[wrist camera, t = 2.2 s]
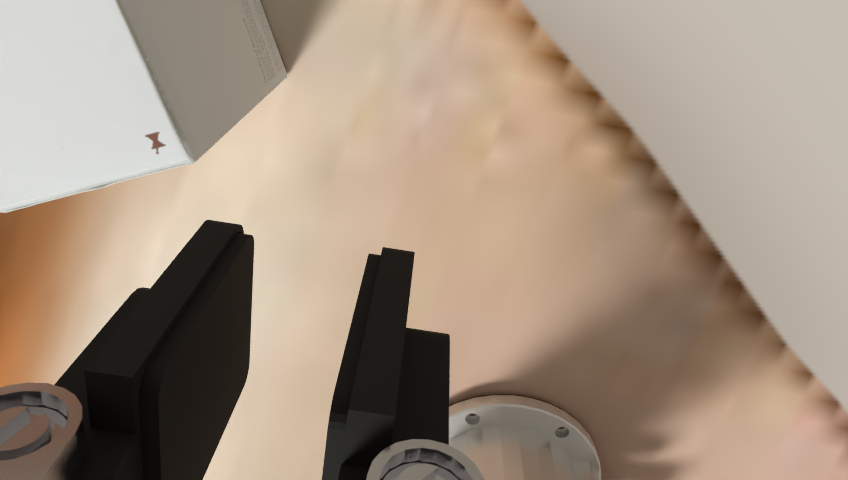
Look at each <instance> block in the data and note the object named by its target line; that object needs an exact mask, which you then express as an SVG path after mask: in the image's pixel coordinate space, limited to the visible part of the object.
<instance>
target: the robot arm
mask: <svg viewBox="0 0 848 480" xmlns="http://www.w3.org/2000/svg"><path fill="white" fill-rule="evenodd" d="M253 257H254V238H253V236H252V235H247V234H244V231H243V227H242V225H238V224H231V223H225V222H219V221H212V220H206V221H205V222H204V223H203V224H202V226H201V227H200V228H199V229H198V231H197V232H196V233H195V234H194V236H193V237H192V238H191V239H190V240H189V242H188V243H187V244H186V245H185V247H184V248H183V249H182V250H181V252H180V253H179V254H178V255H177V256H176V258H175V259H174V260H173V261H172V263H171V264H170V265H169V266H168V268H167V269H166V270H165V271H164V273H163V274H162V275H161V276H160V277H159V279H158V280H157V281H156V282H155V284H154V285H153V286H152V287H151V289H149V288H138V289H137V290H135V291H134V292H133V293H132V294H131V295H130V296H129V298H128V299H127V300H126V301H125V302H124V304H123V305H122V306H121V307H120V308H119V309H118V311H117V312H116V313H115V314H114V315H113V316H112V318H111V319H110V320H109V321H108V322H107V324H106V325H105V326H104V327H103V328H102V329H101V331H100V332H99V333H98V334H97V335H96V336H95V338H94V339H93V340H92V341H91V342H90V344H89V345H88V346H87V347H86V348H85V349H84V351H83V352H82V353H81V354H80V355H79V356H78V358H77V359H76V360H75V361H74V362H73V364H72V365H71V366H70V367H69V368H68V369H67V371H66V372H65V373H64V374H63V375H62V377H61V378H60V379H59V380H58V381H57V382H56V384H55V385H51V384H48V383H22V384H15V385H8V386H4V387H1V388H0V480H203V477H204V475H205V473H206V471H207V468H208V466H209V464H210V462H211V459H212V457H213V455H214V453H215V450H216V448H217V446H218V444H219V441H220V439H221V437H222V435H223V432H224V430H225V428H226V426H227V423H228V421H229V419H230V417H231V414H232V412H233V410H234V408H235V405H236V403H237V401H238V399H239V396H240V394H241V392H242V390H243V387H244V385H245V382H246V379H247V375H248V369H249V358H250V333H251V307H252V282H253ZM413 262H414V252H410V251H404V250H398V249H391V248H385V247H383V249H382V253H381V255H375V254H369V255H368V259H367V263H366V267H365V271H364V275H363V279H362V283H361V287H360V291H359V295H358V299H357V303H356V307H355V311H354V315H353V319H352V323H351V327H350V331H349V335H348V339H347V343H346V347H345V351H344V355H343V359H342V363H341V367H340V371H339V375H338V379H337V383H336V387H335V391H334V395H333V400H332V405H331V411H330V417H329V424H328V432H327V440H326V449H325V458H324V466H323V475H322V480H601V467H600V461H599V458H598V454H597V450H596V447H595V445H594V443H593V441H592V439H591V437H590V435H589V434H588V433H587V431H586V430H585V429H584V428H583V427H582V425H581V424H580V423H579V422H578V421H576V420H575V419H574V418H573V417H571V416H570V415H569V414H567V413H566V412H564V411H563V410H561V409H559V408H557V407H555V406H553V405H551V404H548V403H545V402H542V401H539V400H536V399H533V398H527V397H521V396H514V395H490V396H484V397H477V398H472V399H468V400H465V401H462V402H459V403H456V404H453V405H451V406H449V365H450V337H449V334H444V333H437V332H431V331H424V330H418V329H411V328H406V322H407V313H408V305H409V296H410V287H411V279H412V270H413Z"/></svg>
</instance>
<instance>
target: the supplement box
mask: <svg viewBox="0 0 848 480" xmlns="http://www.w3.org/2000/svg"><path fill="white" fill-rule="evenodd" d="M285 78H287V73H286V70H285V67H284V65H283V62H282V59H281V56H280V53H279V50H278V48H277V45H276V42H275V40H274V37H273V34H272V32H271V29H270V26H269V23H268V20H267V17H266V15H265V12H264V10H263V7H262V4H261V1H260V0H0V213H6V212H11V211H14V210H18V209H22V208H26V207H29V206H33V205H36V204H40V203H44V202H47V201H51V200H55V199H59V198H63V197H66V196H70V195H74V194H78V193H82V192H86V191H91V190H96V189H100V188H104V187H107V186H110V185H112V184H115V183H119V182H123V181H127V180H130V179H134V178H138V177H142V176H145V175H150V174H154V173H158V172H161V171H165V170H169V169H173V168H176V167H181V166H185V165H189V164H193V163H194V162H196V161H197V160H198V159H199V158H200V157H201V156H202V155H203V154H205V153H206V152H207V151H208V150H209V149H210V148H211V147H212V146H213V145H214V144H215V143H216V142H217V141H218V140H219V139H220V138H222V137H223V136H224V135H225V134H226V133H227V132H228V131H229V130H230V129H231V128H232V127H233V126H235V125H236V124H237V123H238V122H239V121H240V120H241V119H242V118H243V117H244V116H245V115H246V114H247V113H249V112H250V111H251V110H252V109H253V108H254V107H255V106H256V105H257V104H258V103H259V102H260V101H261V100H263V99H264V98H265V97H266V96H267V95H268V94H269V93H270V92H271V91H272V90H273V89H275V88H276V87H277V86H278V85H279V84H280V83H281V82H282V81H283V80H284V79H285Z"/></svg>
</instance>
